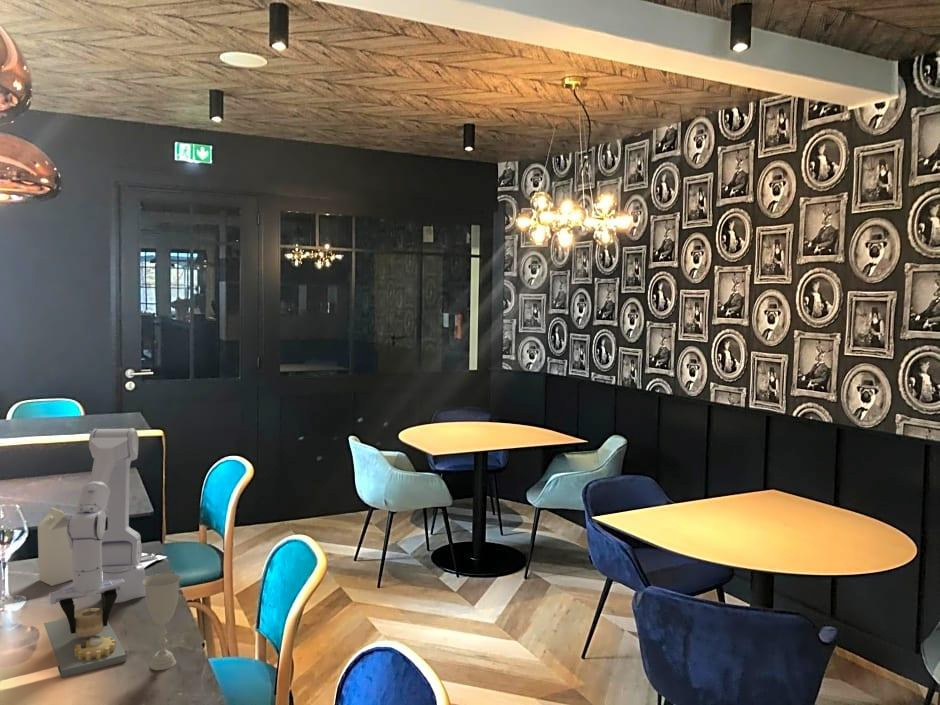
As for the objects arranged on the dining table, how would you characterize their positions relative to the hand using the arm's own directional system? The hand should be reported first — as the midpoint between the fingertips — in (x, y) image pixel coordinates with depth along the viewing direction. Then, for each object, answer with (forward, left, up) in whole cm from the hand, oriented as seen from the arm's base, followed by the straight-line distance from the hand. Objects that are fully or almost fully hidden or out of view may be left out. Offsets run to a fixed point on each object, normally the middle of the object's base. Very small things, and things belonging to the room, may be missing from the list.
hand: (88, 628), depth 162 cm
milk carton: (0, -45, -4) cm, 45 cm away
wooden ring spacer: (0, 0, -1) cm, 1 cm away
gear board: (+1, 0, -4) cm, 4 cm away
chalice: (-11, +18, -4) cm, 21 cm away
